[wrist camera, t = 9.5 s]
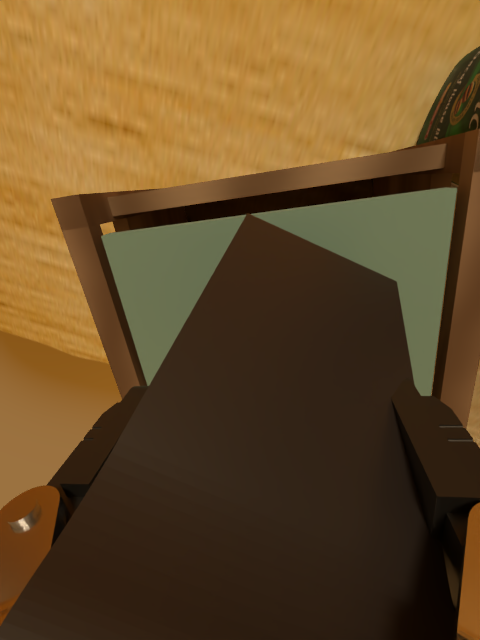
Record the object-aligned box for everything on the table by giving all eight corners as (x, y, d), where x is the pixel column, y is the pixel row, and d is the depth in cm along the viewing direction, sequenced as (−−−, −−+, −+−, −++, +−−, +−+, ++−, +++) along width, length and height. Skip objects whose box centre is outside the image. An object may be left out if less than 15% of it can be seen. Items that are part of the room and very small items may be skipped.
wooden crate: (389, 154, 26) (525, 121, 11) (380, 357, 34) (453, 495, 19) (168, 189, 30) (50, 199, 15) (206, 365, 38) (153, 487, 23)
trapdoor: (435, 186, 14) (470, 188, 12) (403, 506, 23) (419, 550, 20) (120, 230, 17) (89, 239, 14) (197, 499, 26) (186, 537, 23)
